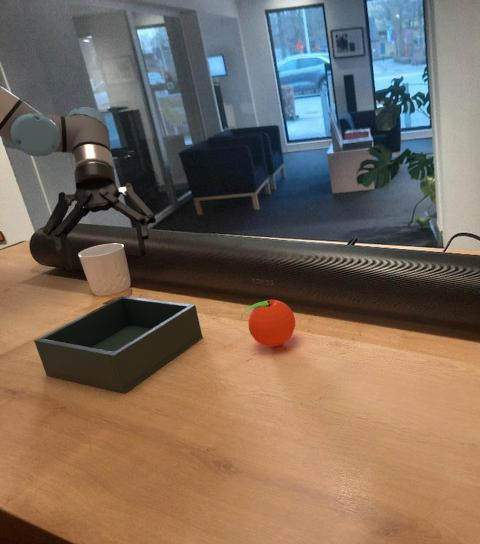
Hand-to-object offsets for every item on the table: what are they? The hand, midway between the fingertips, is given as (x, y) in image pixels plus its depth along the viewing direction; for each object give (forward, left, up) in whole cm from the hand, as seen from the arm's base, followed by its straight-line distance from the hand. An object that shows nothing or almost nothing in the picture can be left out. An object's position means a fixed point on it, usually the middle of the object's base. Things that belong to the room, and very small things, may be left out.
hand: (106, 259), depth 97 cm
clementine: (+43, -9, -8) cm, 45 cm away
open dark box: (+23, -18, -7) cm, 30 cm away
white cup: (+1, -1, -8) cm, 8 cm away
